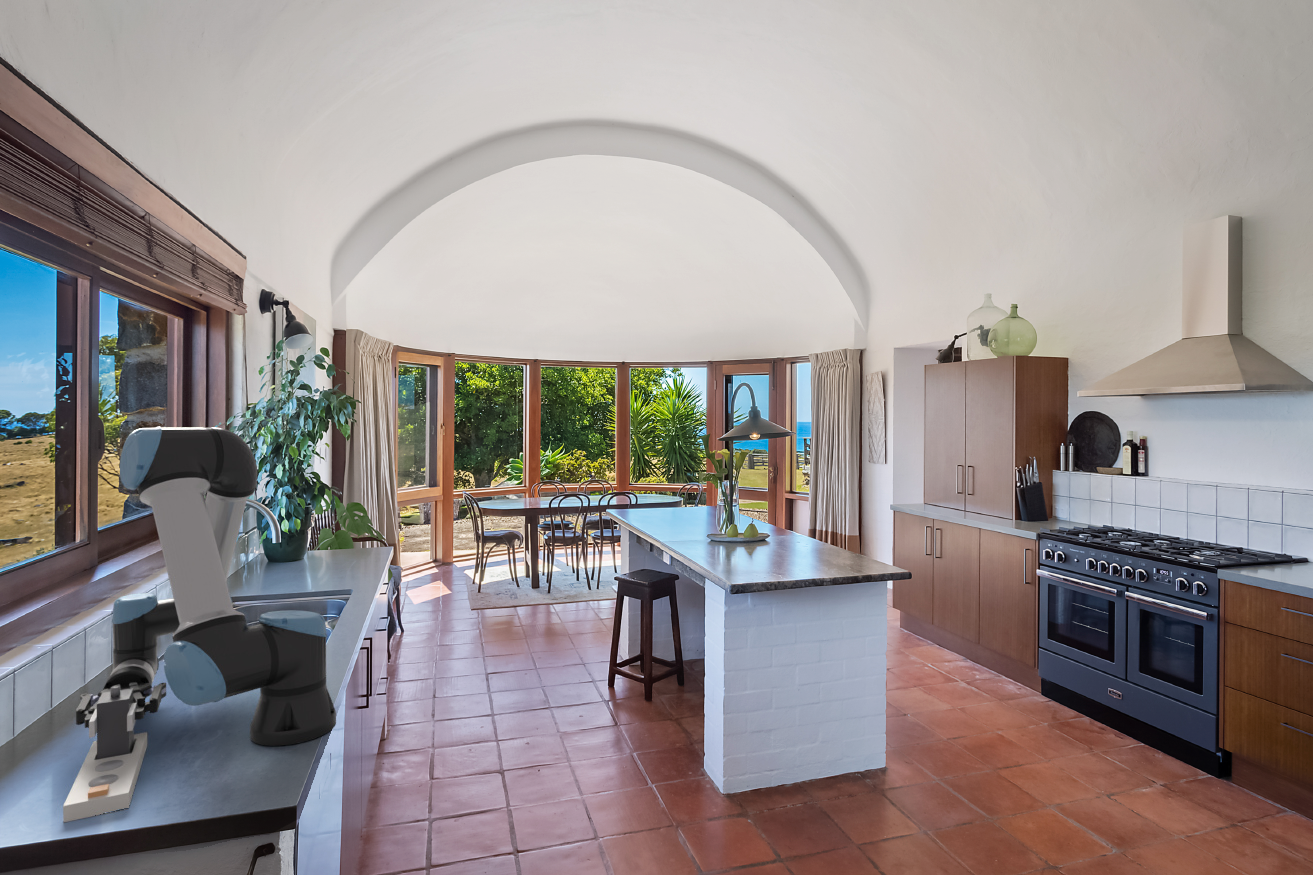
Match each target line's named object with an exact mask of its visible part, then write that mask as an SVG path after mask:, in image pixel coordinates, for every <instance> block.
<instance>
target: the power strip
mask: <svg viewBox="0 0 1313 875" xmlns="http://www.w3.org/2000/svg"><path fill="white" fill-rule="evenodd" d="M147 747H148V732H147V731H146V732H140V733H134V748H133V751H132V753H130V754H125V755H120V756H114V757H109V758H103V759H98V760H97V740H94V741H93V742H92V744H91V746H90V748H89V751H88V753H87V755H86V757H85V759H84V761H83V763H82V765H81V768H80V769H79V772H78V774H77V776H76V777H75V780H74V783H73V784H72V786H71V789H70V791H69V793H68V795H67V797H66V800H65V801H64V803H63V805H62V808H63V809H62V815H63V817H62V818H63V820H62V822H63V823H67V822H73V821H77V820H81V819H86V818H91V817H96V816H100V814H101V815H104V814H103V813H105V812H110V811H115V810H118V809H124V808H129V809H130V806H131V803H130V802H132V799H133V796H132V795H134V792H135V789H136V786H135V785H137V782H138V778H139V776H140V771H141V768H142V764H143V761H144V758H145V754H146V751H147ZM129 805H130V806H129ZM124 810H125V809H124ZM115 812H116V811H115ZM110 813H111V812H110ZM105 814H106V813H105ZM95 815H96V816H95Z"/></svg>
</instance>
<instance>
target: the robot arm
mask: <svg viewBox="0 0 1313 875" xmlns="http://www.w3.org/2000/svg"><path fill="white" fill-rule="evenodd" d="M119 462H120V463H119V476H120V481H121V484H122V485H123V487H124V488H125V489H127V490H130V491H135V490H137V493H138V498H139V500H140V502H141V503H142V504H144V505H147V506H148V507H151V509H152V514H153V518H154V521H155V526H156V530H157V534H158V539H159V544H160V547H161V551H162V555H163V560H164V563H165V568H166V572H167V577H168V580H169V584H170V589H171V594H172V598H166V599H159V600H158V598H157V595H156V594H154V593H152V592H151V593H149V592H145V593H144V592H143V593H133V594H128V595H127V594H126V595H124V596H120V597H118V598H117V599H115V601H114V602H113V608H112V619H111V624H112V641H113V642H112V648H113V649H112V671H111V673H110V675H109V677H108V678H107V681H106V682H105V684H104V686H103V688H102V690H101V691H98V693H97V695H94V694H89V693H82V694H80V699H79V701H80V703H79V704H78V706H77V707H76V709H75V724H76V725H77V726H79V725H84V728H86V729H87V728H88V738H89V739H91V738H95V736H97V702H98V700H99V698H100V697H101V695H102V693H104V692H111V687H114V686H120V690H125V689H132V688H133V703H132V705H131V707H130V710H129V712H128V714H127V731H132V730H133V728H134V727H135V725H136V722H137V720H142V719H143V718H144V717H145V715H146V713H148V712H149V713H150V714H155V713H157V712H158V711H159V708H160V706H161V702H162V699H164V698H165V697H166V696H167V683H168V685H169V688H170V690H171V691H172V693H173V694H174V696H176V698H177V699H178V700H180V701H181V702H182V703H183V704H186V705H188V706H195V707H196V706H201V705H205V704H209V703H218V702H220V701H222V700H223V699H226V698H230V697H234V696H237V695H240V694H244V693H247V692H251V691H254V690H258V689H259V690H260V692H259V693H260V694H259V699H258V703H257V705H256V707H255V711H254V714H253V717H252V720H251V722H250V726H249V730H250V731H249V732H250V733H249V736H250V737H249V738H250V740H251V741H252V742H253V743H255V744H257V745H263V746H270V747H271V746H274V747H275V746H277V747H279V746H288V745H295V744H299V743H305V742H307V741H312V740H314V739H317V738H320V737H322V736H324V735H326V734H327V733H329V732H330V731H332V730H333V729H334V728H335V727H336V725H337V712H336V709H335V706H334V703H333V700H332V697H331V695H330V693H329V689H328V686H327V637H328V634H327V627H326V626H327V625H326V620H325V619H326V618H324V616H323V615H322V614H320V613H319V612H314V611H307V610H295V609H294V610H293V609H292V610H287V609H286V610H276V611H275V610H274V611H268V612H267V611H266V612H265V613H261V614H260V616H259V619H258V622H259V624H255V625H249V626H248V622H247V618H246V615H245V614H244V613H243V612H240V611H238V610H236V609H235V608H234V607H233V599H232V596H231V594H230V591H229V587H228V583H227V582H228V577H229V572H230V569H231V565H232V560H233V557H234V553H235V549H236V545H237V541H238V537H239V533H240V529H241V524H242V521H243V516H244V512H245V510H246V504H247V501H248V498H250V497H252V496H253V495H254V494H255V491H256V486H257V483H258V467H257V461H256V458H255V456H254V454H253V451H252V449H251V447H250V446H249V445H248V443H247V442H246V441H245V440H244V439H243V438H242V437H240V435H238V434H236V432H235V433H234V432H233V431H231V430H229V429H226V428H221V427H213V426H211V427H210V426H209V427H161V426H156V427H142V428H137V429H135V430H133V431H132V432H131V433H130V434H129V435H128V436H127V438H126V439H125V442H124V444H123V447H122V451H121V454H120V460H119ZM205 495H206V496H205ZM171 634H172V643H171V644H169V645H168V646H167V648H166V649H165V651H164V654H163V661H164V665H163V671H164V674H165V678H166V680H167V682H160V683H158V684H157V685H153V682H154V679H155V676H156V675H157V672H158V670H159V667H160V666H159V665H160V664H159V662H160V661H159V656H158V647H157V646H158V637H162V636H167V635H171ZM152 685H153V686H152ZM148 697H149V701H146V699H147V698H148Z"/></svg>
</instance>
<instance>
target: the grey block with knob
mask: <svg viewBox="0 0 1313 875" xmlns="http://www.w3.org/2000/svg"><path fill="white" fill-rule="evenodd" d="M96 703H97V733H96V741H97V760H98V759H103V758H109V757H114V756H120V755H125V754H130V753H132V751H133V748H134V734H135V733H134V730H135V729H134V728H133V730H132V731H127V714H128V712H129V710H130V707H131V705H132V703H133V688H132V689H125V690H120V686H114V687H111V692H104V693H102V695H101V697H100V698H99V700H98V702H96Z"/></svg>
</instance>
